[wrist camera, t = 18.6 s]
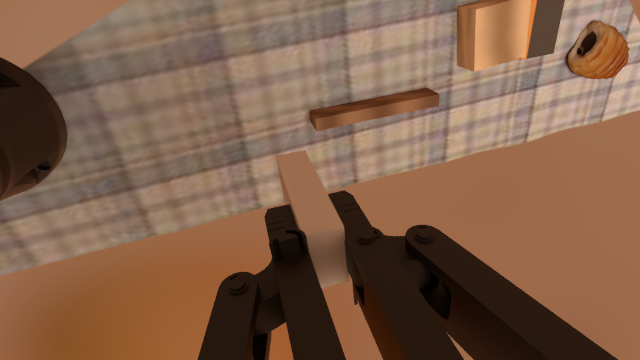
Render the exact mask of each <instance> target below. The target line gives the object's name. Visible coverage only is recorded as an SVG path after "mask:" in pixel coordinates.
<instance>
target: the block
mask: <svg viewBox="0 0 640 360" xmlns="http://www.w3.org/2000/svg"><path fill="white" fill-rule="evenodd" d="M530 7H531V0H481V1H478V2H474V3H470V4H466V5H463V6H459V7H457V65H458V66H461V67H463V68H466V69H469V70H471V71H478V70H481V69H485V68H488V67H492V66H495V65H499V64H502V63H506V62H509V61H513V60H516V59H519V58H523V57H526V47H527V37H528V27H529V17H530Z"/></svg>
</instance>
